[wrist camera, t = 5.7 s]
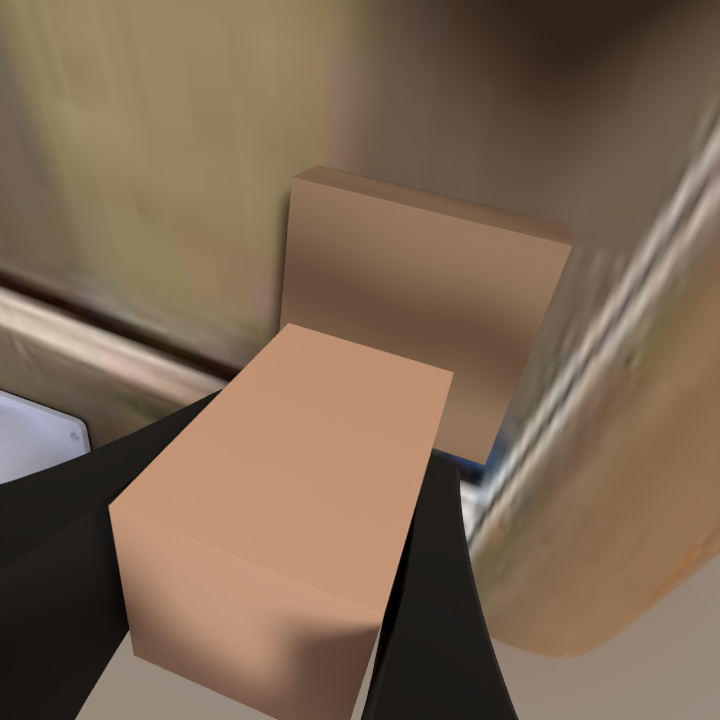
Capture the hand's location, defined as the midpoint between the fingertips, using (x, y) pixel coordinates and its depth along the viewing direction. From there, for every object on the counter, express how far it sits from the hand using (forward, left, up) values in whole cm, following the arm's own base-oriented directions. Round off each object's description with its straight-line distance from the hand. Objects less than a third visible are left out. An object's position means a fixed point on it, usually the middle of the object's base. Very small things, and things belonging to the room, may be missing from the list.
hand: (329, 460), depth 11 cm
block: (0, 0, -2) cm, 2 cm away
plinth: (0, 0, -8) cm, 8 cm away
